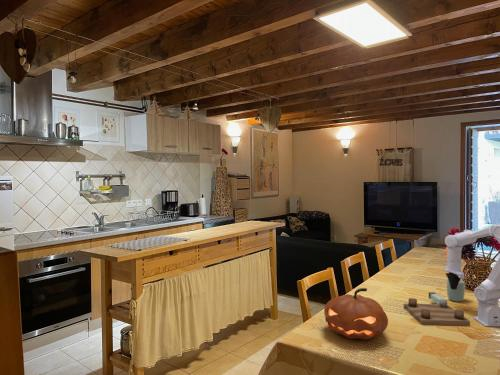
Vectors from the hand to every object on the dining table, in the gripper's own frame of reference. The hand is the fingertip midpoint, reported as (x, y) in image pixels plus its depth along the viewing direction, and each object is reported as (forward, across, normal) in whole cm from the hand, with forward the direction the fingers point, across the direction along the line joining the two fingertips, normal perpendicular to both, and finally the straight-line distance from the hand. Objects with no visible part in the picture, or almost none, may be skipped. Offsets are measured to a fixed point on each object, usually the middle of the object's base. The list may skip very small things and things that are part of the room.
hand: (453, 289), depth 172 cm
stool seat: (+9, +10, -13) cm, 19 cm away
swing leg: (+7, -2, -6) cm, 10 cm away
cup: (+10, -12, +7) cm, 17 cm away
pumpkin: (+10, +30, -53) cm, 62 cm away
